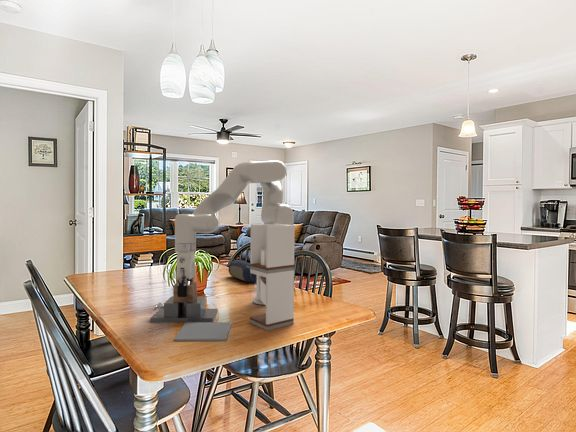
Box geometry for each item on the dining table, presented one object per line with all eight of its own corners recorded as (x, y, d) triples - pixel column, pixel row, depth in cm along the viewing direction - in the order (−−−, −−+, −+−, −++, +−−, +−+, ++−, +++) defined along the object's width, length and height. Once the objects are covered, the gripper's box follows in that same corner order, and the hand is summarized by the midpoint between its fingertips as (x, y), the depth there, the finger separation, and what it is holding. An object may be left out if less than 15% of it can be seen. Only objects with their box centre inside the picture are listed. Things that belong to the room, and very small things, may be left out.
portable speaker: (225, 277, 215) (225, 259, 214) (241, 275, 221) (241, 258, 220) (247, 285, 194) (247, 266, 194) (263, 283, 200) (263, 264, 200)
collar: (196, 297, 143) (197, 281, 142) (192, 302, 136) (193, 285, 135) (178, 297, 142) (178, 281, 142) (173, 302, 135) (173, 285, 135)
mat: (231, 324, 132) (231, 322, 132) (225, 340, 116) (225, 338, 116) (185, 324, 131) (185, 322, 131) (173, 341, 115) (173, 339, 115)
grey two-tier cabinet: (275, 316, 141) (276, 223, 140) (293, 324, 133) (294, 225, 132) (249, 322, 134) (250, 224, 133) (267, 330, 126) (268, 226, 124)
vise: (217, 312, 146) (217, 277, 145) (212, 322, 134) (212, 284, 133) (160, 312, 145) (160, 277, 144) (150, 322, 133) (150, 284, 132)
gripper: (190, 250, 130) (190, 299, 130) (200, 244, 147) (200, 288, 148) (168, 250, 130) (168, 299, 130) (181, 244, 147) (181, 288, 147)
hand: (185, 293), depth 139 cm, fingers open, 9 cm apart
